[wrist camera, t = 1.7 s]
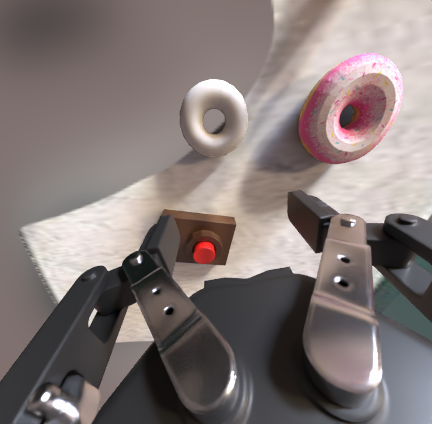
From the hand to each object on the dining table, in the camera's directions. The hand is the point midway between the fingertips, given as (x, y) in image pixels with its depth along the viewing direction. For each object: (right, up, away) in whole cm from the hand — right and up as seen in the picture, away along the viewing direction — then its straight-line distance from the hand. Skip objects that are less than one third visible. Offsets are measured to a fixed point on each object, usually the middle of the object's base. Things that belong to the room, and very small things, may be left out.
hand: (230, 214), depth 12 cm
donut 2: (+18, +16, +16) cm, 28 cm away
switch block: (-5, -5, +25) cm, 26 cm away
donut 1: (-1, +14, +15) cm, 21 cm away
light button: (-3, -7, +22) cm, 23 cm away
